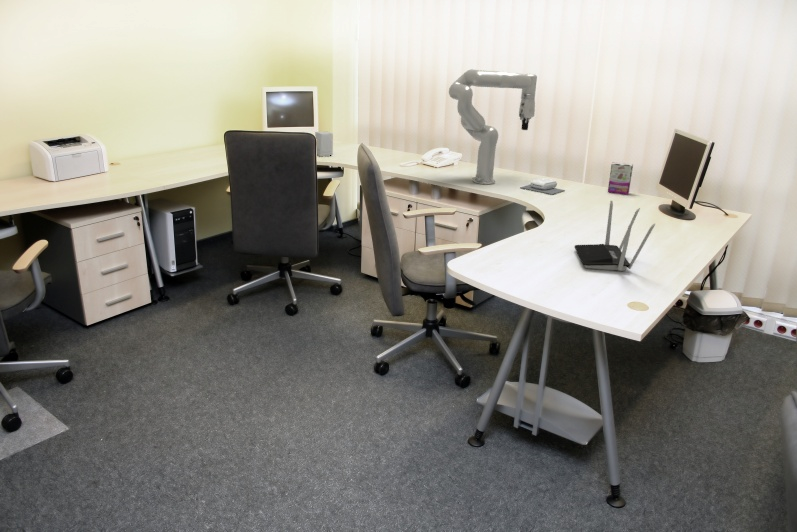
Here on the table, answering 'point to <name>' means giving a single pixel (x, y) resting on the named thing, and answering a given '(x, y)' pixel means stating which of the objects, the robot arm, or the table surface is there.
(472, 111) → the robot arm
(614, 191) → the candy bar box
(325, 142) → the supplement box
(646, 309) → the table surface
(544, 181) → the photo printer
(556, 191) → the mat
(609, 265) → the wireless router
